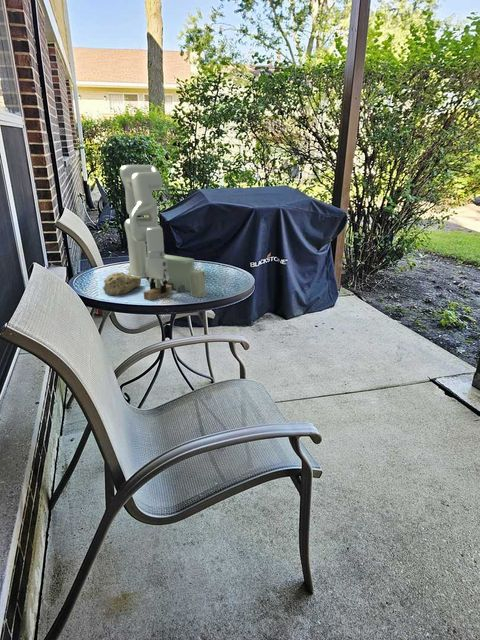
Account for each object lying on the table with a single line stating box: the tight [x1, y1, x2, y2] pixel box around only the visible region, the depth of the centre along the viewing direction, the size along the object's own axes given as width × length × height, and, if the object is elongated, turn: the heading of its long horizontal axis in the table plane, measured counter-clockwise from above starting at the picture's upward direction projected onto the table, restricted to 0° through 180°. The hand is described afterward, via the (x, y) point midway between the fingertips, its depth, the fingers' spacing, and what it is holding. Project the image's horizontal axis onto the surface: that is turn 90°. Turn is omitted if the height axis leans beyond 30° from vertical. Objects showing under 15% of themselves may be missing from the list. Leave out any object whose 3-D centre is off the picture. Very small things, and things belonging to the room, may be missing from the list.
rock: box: [102, 272, 142, 296], centre depth 206 cm, size 21×14×10 cm
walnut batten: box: [143, 285, 173, 301], centre depth 197 cm, size 4×15×4 cm, turn 149°
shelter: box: [154, 254, 195, 294], centre depth 204 cm, size 20×7×16 cm, turn 58°
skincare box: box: [190, 269, 207, 299], centre depth 196 cm, size 6×4×12 cm
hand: (158, 291), depth 197 cm, fingers open, 6 cm apart
